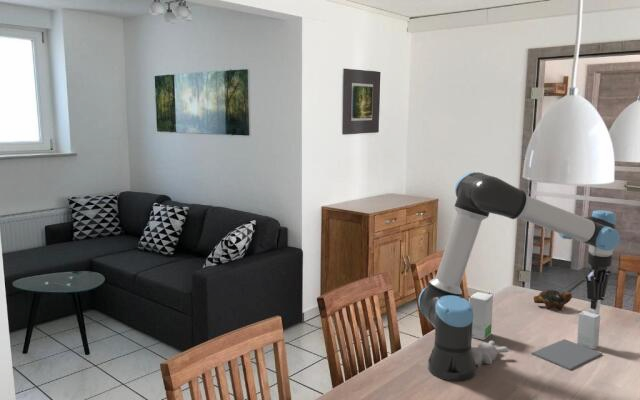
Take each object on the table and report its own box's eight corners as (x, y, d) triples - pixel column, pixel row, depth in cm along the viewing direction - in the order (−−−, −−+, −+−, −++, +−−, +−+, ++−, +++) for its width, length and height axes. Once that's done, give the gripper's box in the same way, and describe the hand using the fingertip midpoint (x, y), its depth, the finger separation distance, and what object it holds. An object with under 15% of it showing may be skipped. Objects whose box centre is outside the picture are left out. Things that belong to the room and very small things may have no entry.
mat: (569, 370, 175) (570, 368, 175) (531, 354, 186) (531, 352, 186) (601, 354, 186) (602, 353, 186) (564, 340, 197) (564, 339, 197)
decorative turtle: (573, 313, 224) (574, 295, 222) (535, 312, 228) (535, 294, 226) (568, 304, 233) (569, 286, 232) (532, 303, 237) (532, 286, 235)
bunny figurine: (459, 348, 181) (488, 334, 189) (460, 362, 182) (488, 347, 190) (482, 359, 173) (511, 343, 181) (482, 373, 175) (511, 357, 183)
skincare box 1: (483, 340, 197) (486, 300, 194) (466, 336, 201) (468, 296, 198) (491, 333, 203) (494, 294, 201) (475, 329, 207) (477, 290, 205)
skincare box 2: (598, 346, 192) (601, 314, 190) (593, 350, 190) (596, 317, 188) (581, 341, 197) (584, 309, 195) (575, 344, 194) (578, 312, 192)
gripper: (601, 259, 183) (594, 324, 187) (620, 253, 190) (613, 316, 194) (580, 254, 189) (574, 317, 193) (599, 249, 196) (593, 310, 200)
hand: (594, 316), depth 194 cm, fingers closed
